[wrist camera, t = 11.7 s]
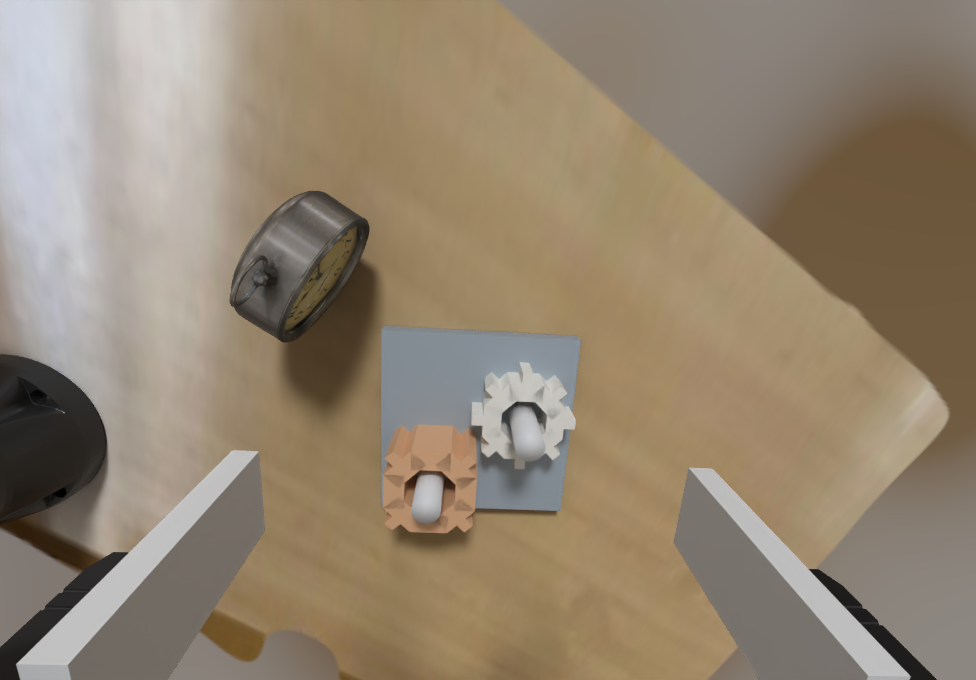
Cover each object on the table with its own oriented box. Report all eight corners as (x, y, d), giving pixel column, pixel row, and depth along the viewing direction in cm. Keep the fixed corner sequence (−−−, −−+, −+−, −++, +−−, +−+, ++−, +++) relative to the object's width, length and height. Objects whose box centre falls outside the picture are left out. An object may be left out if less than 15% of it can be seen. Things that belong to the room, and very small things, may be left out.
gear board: (383, 496, 46) (364, 560, 38) (384, 325, 42) (361, 354, 33) (557, 501, 47) (576, 566, 39) (577, 335, 43) (604, 366, 34)
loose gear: (392, 497, 45) (382, 531, 40) (392, 423, 43) (383, 449, 38) (473, 500, 45) (473, 533, 40) (477, 426, 43) (478, 453, 38)
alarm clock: (324, 323, 41) (235, 389, 26) (270, 290, 40) (144, 338, 25) (386, 221, 39) (330, 225, 24) (330, 184, 38) (234, 162, 23)
